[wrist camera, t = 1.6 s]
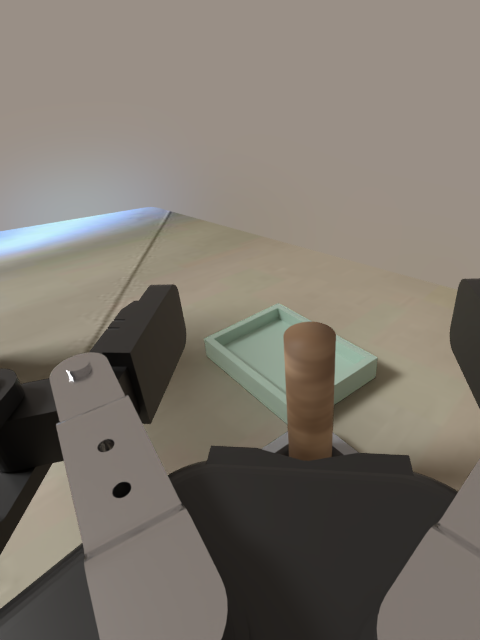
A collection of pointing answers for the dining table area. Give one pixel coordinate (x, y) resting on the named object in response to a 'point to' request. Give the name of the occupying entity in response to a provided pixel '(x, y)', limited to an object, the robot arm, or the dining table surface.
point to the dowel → (310, 389)
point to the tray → (280, 358)
